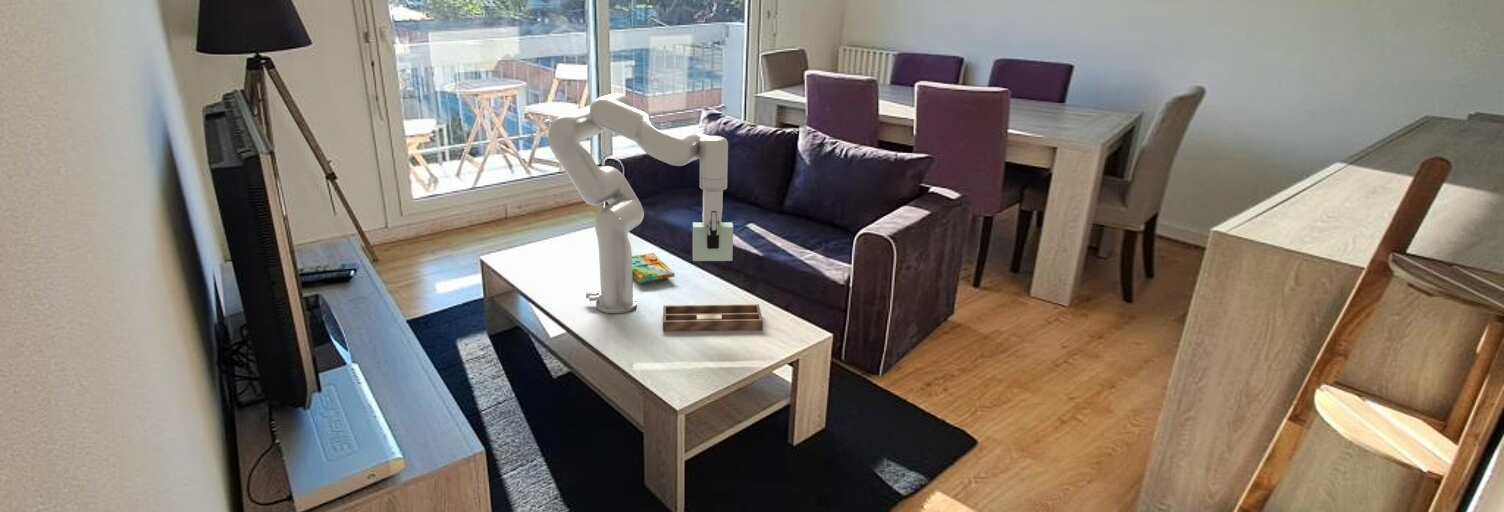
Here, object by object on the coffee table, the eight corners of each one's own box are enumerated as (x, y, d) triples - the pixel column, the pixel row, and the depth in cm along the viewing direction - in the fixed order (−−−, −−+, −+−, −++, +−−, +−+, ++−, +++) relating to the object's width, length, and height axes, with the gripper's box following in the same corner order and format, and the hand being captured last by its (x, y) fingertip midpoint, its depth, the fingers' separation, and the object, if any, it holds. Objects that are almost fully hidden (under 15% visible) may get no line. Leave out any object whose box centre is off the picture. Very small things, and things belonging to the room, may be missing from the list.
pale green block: (693, 261, 218) (693, 227, 214) (692, 255, 221) (692, 222, 218) (732, 260, 219) (733, 227, 215) (731, 255, 222) (732, 222, 219)
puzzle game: (653, 250, 269) (674, 270, 252) (653, 263, 270) (674, 284, 254) (620, 255, 264) (639, 276, 247) (620, 268, 265) (640, 289, 249)
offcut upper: (696, 323, 220) (696, 318, 219) (696, 319, 222) (696, 314, 222) (721, 323, 221) (721, 318, 220) (721, 319, 223) (721, 314, 223)
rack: (663, 335, 219) (662, 321, 217) (663, 318, 229) (663, 305, 228) (762, 333, 222) (762, 320, 220) (758, 317, 232) (758, 304, 230)
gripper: (698, 173, 219) (698, 235, 226) (700, 190, 204) (700, 256, 211) (725, 174, 220) (724, 235, 227) (729, 190, 205) (727, 256, 211)
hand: (712, 244), depth 219 cm, fingers closed on pale green block, 4 cm apart
